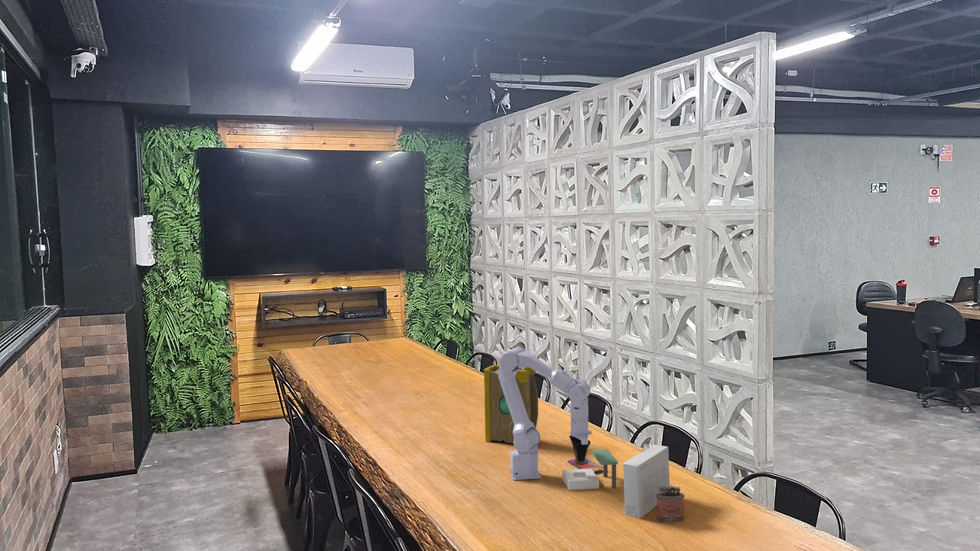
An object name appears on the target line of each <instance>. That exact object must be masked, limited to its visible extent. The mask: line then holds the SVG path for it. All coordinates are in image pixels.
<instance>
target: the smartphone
mask: <svg viewBox="0 0 980 551" xmlns="http://www.w3.org/2000/svg"><path fill="white" fill-rule="evenodd" d="M567 463H568V464H569V463H570V464H569V465H571V466H573V467H575V468H576V467H577V469H592V470H593V472H594V473H595V475H598V474H602V472H603V465H601V464H600V465H599V463H596V462H594V461H592V460H590V459H587V458H586V457H585V464H584V465H576V464H575V458H574V459H569V460H567Z"/></svg>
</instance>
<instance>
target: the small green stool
mask: <svg viewBox="0 0 980 551" xmlns="http://www.w3.org/2000/svg"><path fill="white" fill-rule="evenodd" d="M591 454H592V455H593V457H594V458H595V460H597V461H598V464H600V466H602V467H603V474H602V476H603V478H607V477H608V472H609V471H608V468H609V466H611V488H612V489H617V465H618V463H619V461H618V460H617V459H616V457H615V456H614V455H613V454H612V453H611V452H610V451H609V449H592V450H591Z"/></svg>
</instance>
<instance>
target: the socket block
mask: <svg viewBox="0 0 980 551" xmlns="http://www.w3.org/2000/svg"><path fill="white" fill-rule="evenodd" d="M561 470H562V471H561V478H562V481H563V482H564V485H565V486H566V488H567V489H568V491H577V490H578V491H579V490H594V489H599V488H600V478H599V477H598V476H597V474H595V473H594V472H593V470H592V469H578V468H577V469H561Z"/></svg>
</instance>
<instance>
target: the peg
mask: <svg viewBox="0 0 980 551" xmlns="http://www.w3.org/2000/svg"><path fill="white" fill-rule="evenodd" d="M574 456H575V458H574V459H575V464H576V465H584V464H585V460H584V461H578V460H577V454H576V449H575V454H574Z"/></svg>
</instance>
